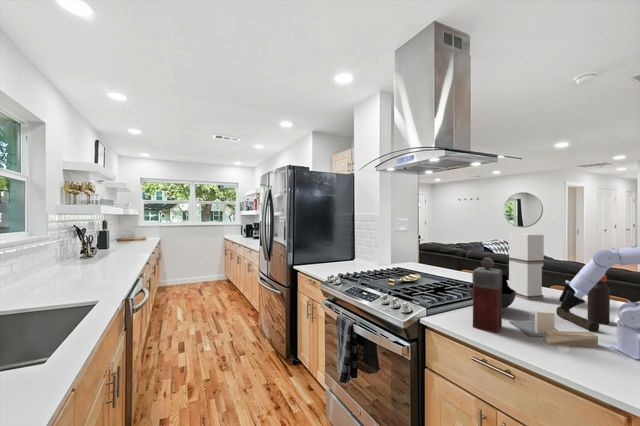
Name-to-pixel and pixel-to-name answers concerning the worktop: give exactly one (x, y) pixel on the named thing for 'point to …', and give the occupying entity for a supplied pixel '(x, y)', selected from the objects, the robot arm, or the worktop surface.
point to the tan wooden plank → (570, 338)
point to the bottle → (599, 302)
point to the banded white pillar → (526, 265)
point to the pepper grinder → (487, 297)
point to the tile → (544, 321)
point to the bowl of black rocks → (507, 292)
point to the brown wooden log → (577, 320)
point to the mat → (528, 328)
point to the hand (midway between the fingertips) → (562, 305)
